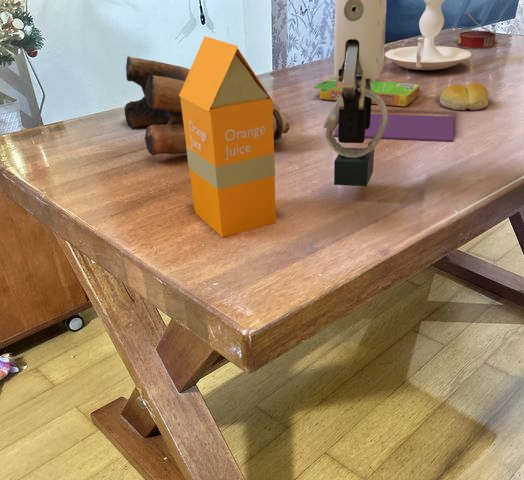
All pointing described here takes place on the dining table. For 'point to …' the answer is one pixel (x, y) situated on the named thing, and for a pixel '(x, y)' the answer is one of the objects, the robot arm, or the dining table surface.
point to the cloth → (412, 127)
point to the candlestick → (428, 44)
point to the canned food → (476, 38)
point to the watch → (354, 159)
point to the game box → (386, 90)
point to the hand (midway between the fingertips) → (354, 133)
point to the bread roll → (465, 97)
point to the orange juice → (229, 140)
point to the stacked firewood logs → (167, 106)
